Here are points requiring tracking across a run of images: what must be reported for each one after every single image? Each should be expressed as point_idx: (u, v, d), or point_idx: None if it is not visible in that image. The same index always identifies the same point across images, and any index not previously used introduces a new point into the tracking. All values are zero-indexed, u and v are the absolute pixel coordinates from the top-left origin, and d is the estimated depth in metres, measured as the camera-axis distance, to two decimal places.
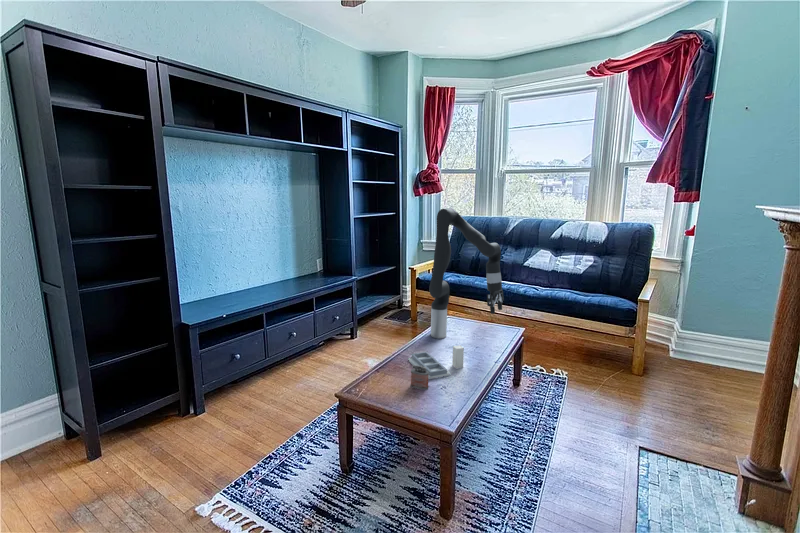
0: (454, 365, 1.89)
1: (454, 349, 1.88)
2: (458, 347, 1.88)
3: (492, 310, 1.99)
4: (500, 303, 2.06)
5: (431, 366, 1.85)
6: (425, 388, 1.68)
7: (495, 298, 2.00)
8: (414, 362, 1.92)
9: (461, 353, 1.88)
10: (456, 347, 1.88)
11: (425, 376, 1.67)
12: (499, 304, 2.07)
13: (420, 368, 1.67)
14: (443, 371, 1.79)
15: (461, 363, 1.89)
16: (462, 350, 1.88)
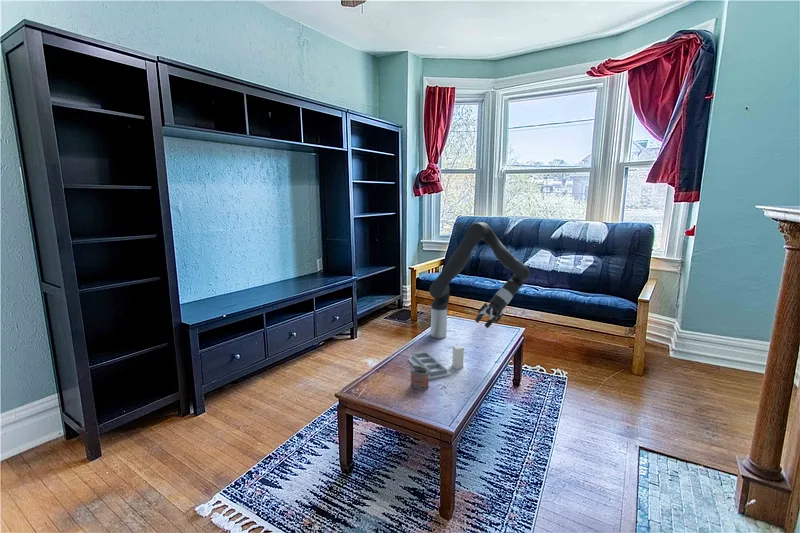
0: (454, 365, 1.89)
1: (454, 349, 1.88)
2: (458, 347, 1.88)
3: None
4: (481, 317, 1.95)
5: (431, 366, 1.85)
6: (425, 388, 1.68)
7: None
8: (414, 362, 1.92)
9: (461, 353, 1.88)
10: (456, 347, 1.88)
11: (425, 376, 1.67)
12: (480, 317, 1.95)
13: (420, 368, 1.67)
14: (443, 371, 1.79)
15: (461, 363, 1.89)
16: (462, 350, 1.88)
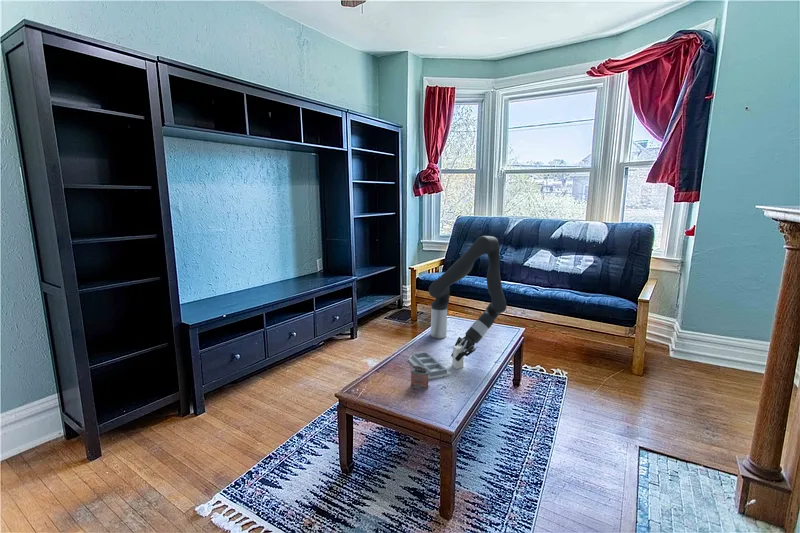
0: (454, 365, 1.89)
1: (454, 349, 1.88)
2: (458, 347, 1.88)
3: (460, 358, 1.86)
4: None
5: (431, 366, 1.85)
6: (425, 388, 1.68)
7: None
8: (414, 362, 1.92)
9: None
10: (456, 347, 1.88)
11: (425, 376, 1.67)
12: None
13: (420, 368, 1.67)
14: (443, 371, 1.79)
15: (461, 363, 1.89)
16: None
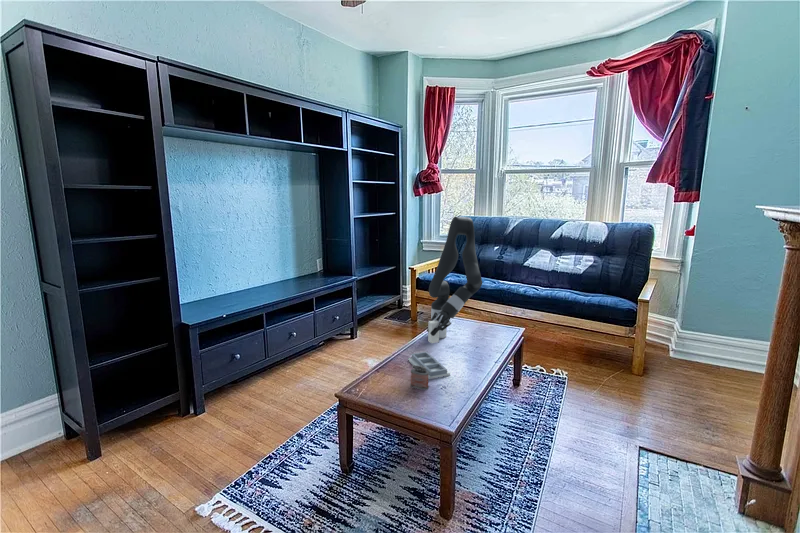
0: (429, 340, 1.86)
1: (429, 324, 1.84)
2: (433, 322, 1.84)
3: None
4: None
5: (431, 366, 1.85)
6: (425, 388, 1.68)
7: None
8: (414, 362, 1.92)
9: None
10: (431, 322, 1.84)
11: (425, 376, 1.67)
12: None
13: (420, 368, 1.67)
14: (443, 371, 1.79)
15: (437, 338, 1.85)
16: None
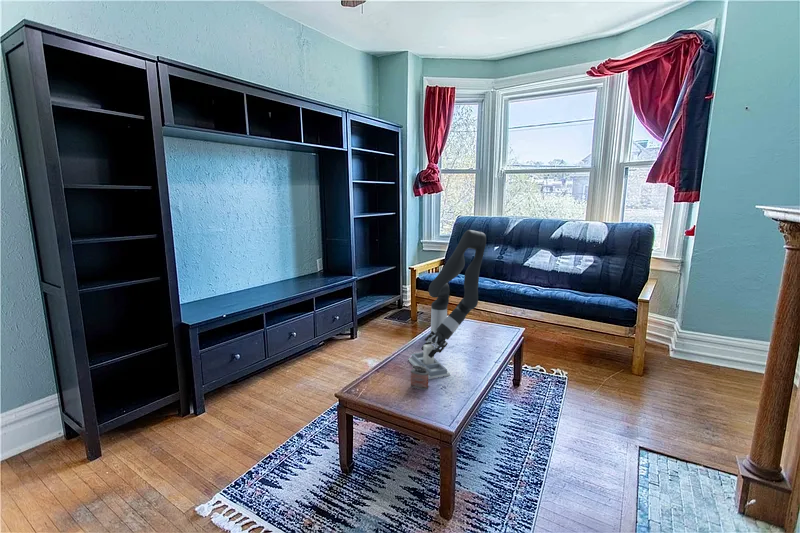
0: None
1: (424, 348, 1.87)
2: (428, 346, 1.87)
3: (433, 355, 1.83)
4: None
5: (431, 366, 1.85)
6: (425, 388, 1.68)
7: None
8: (414, 362, 1.92)
9: None
10: (426, 346, 1.87)
11: (425, 376, 1.67)
12: None
13: (420, 368, 1.67)
14: (443, 371, 1.79)
15: (431, 362, 1.87)
16: (432, 349, 1.86)
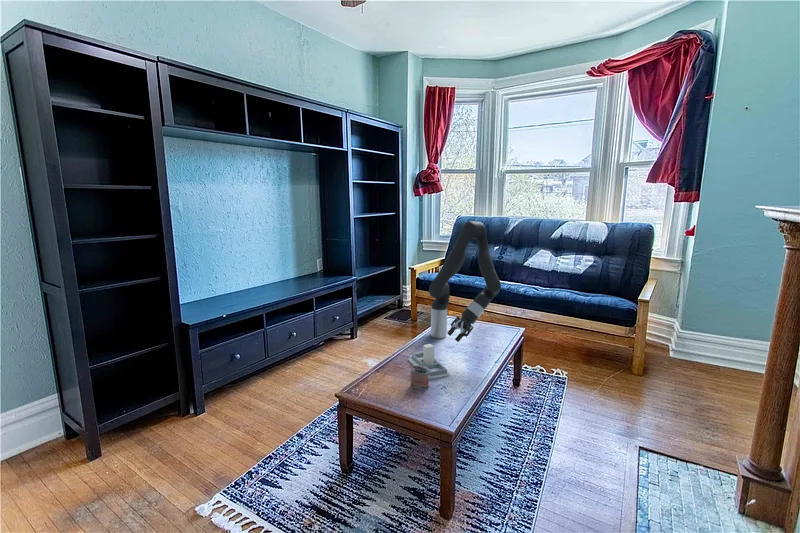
0: None
1: (424, 348, 1.87)
2: (428, 346, 1.87)
3: (460, 339, 1.87)
4: (453, 330, 1.96)
5: (431, 366, 1.85)
6: (425, 388, 1.68)
7: None
8: (414, 362, 1.92)
9: (431, 352, 1.86)
10: (426, 346, 1.87)
11: (425, 376, 1.67)
12: (452, 330, 1.96)
13: (420, 368, 1.67)
14: (443, 371, 1.79)
15: (431, 362, 1.87)
16: (432, 349, 1.86)
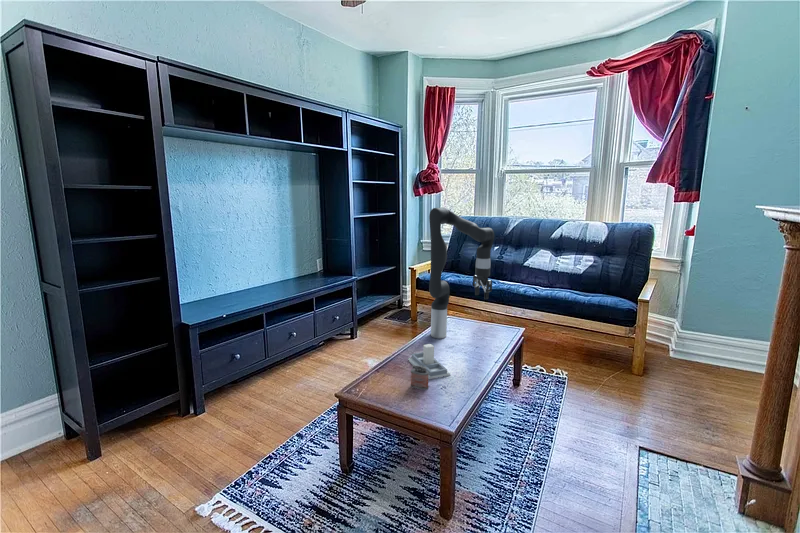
0: None
1: (424, 348, 1.87)
2: (428, 346, 1.87)
3: (488, 295, 1.98)
4: (478, 288, 2.06)
5: (431, 366, 1.85)
6: (425, 388, 1.68)
7: None
8: (414, 362, 1.92)
9: (431, 352, 1.86)
10: (426, 346, 1.87)
11: (425, 376, 1.67)
12: (477, 289, 2.06)
13: (420, 368, 1.67)
14: (443, 371, 1.79)
15: (431, 362, 1.87)
16: (432, 349, 1.86)
